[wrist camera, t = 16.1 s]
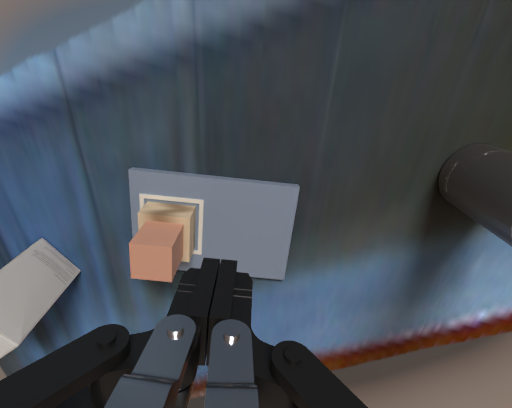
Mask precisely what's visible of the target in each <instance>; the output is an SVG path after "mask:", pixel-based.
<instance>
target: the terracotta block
mask: <svg viewBox="0 0 512 408" xmlns="http://www.w3.org/2000/svg"><path fill="white" fill-rule="evenodd" d="M183 234H184V224H177V223H167V222H157V221H148V220H146V222H145V223H144V224H143V226H142V227H141V228H140V229H139V231H138V232H137V233H136V235H135V236H134V237H133V239H132V240H131V241H130V243H129V252H130V268H131V278H133V279H143V280H154V281H164V282H172V281H173V278H174V276H175V274H176V271H177V269H178V267H179V264H180V262H181V259H182V257H183Z"/></svg>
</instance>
